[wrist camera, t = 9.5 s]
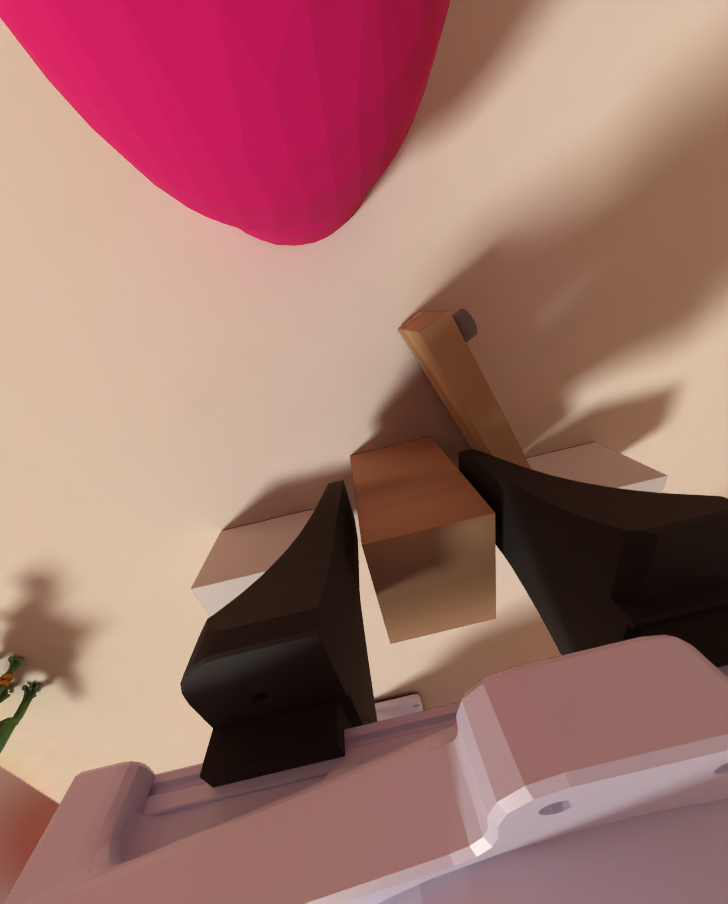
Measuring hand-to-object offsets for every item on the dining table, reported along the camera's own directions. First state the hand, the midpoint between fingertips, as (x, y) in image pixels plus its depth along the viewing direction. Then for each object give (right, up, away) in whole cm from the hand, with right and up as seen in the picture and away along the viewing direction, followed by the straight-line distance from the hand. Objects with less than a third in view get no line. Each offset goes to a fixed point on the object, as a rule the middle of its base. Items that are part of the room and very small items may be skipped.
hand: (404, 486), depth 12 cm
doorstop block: (0, 0, +3) cm, 3 cm away
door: (+3, +4, +1) cm, 5 cm away
